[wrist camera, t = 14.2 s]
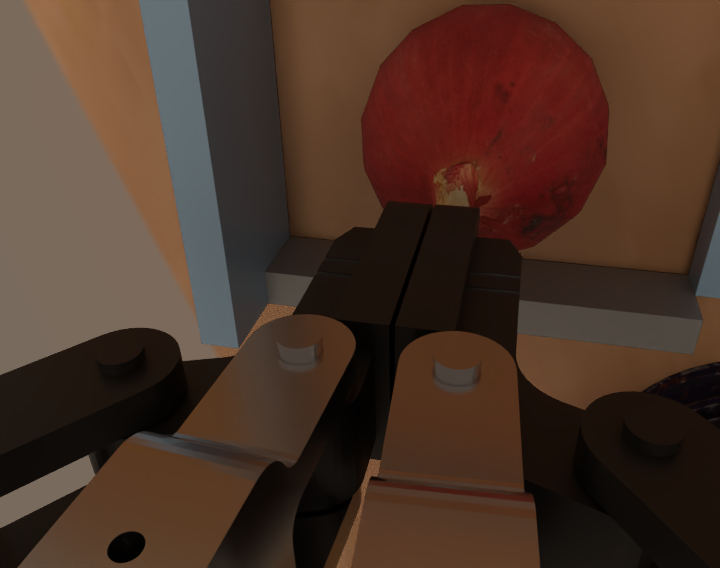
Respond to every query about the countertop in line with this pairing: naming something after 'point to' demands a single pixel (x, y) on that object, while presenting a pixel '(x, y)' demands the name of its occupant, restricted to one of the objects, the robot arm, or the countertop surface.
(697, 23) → the countertop surface
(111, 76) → the countertop surface
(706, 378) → the storage jar
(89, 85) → the countertop surface
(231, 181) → the channel organiser
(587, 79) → the pomegranate
